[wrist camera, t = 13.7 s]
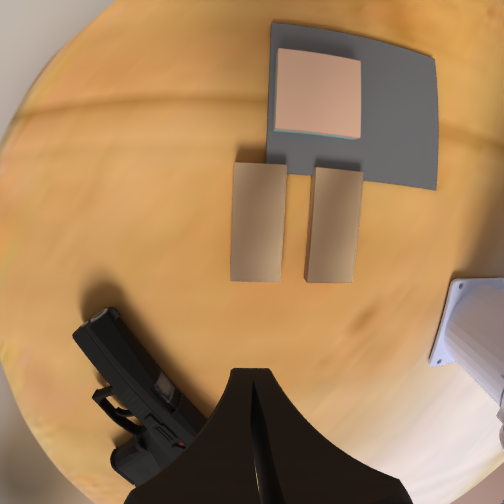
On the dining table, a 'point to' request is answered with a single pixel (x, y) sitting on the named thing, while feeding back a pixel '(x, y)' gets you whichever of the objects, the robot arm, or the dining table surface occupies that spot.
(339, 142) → the mat
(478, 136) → the dining table surface
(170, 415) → the handgun
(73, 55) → the dining table surface
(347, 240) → the tile rack
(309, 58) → the tile
